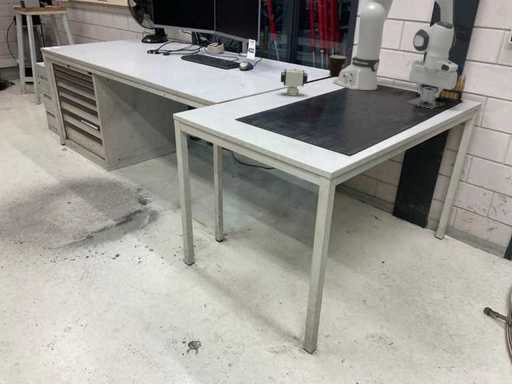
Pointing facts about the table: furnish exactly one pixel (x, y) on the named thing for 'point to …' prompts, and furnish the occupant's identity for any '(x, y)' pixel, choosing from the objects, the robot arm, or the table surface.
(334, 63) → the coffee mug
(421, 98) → the hub
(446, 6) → the robot arm
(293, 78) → the pneumatic valve
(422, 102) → the shaft stand
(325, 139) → the table surface
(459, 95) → the ammunition clip
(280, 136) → the table surface
